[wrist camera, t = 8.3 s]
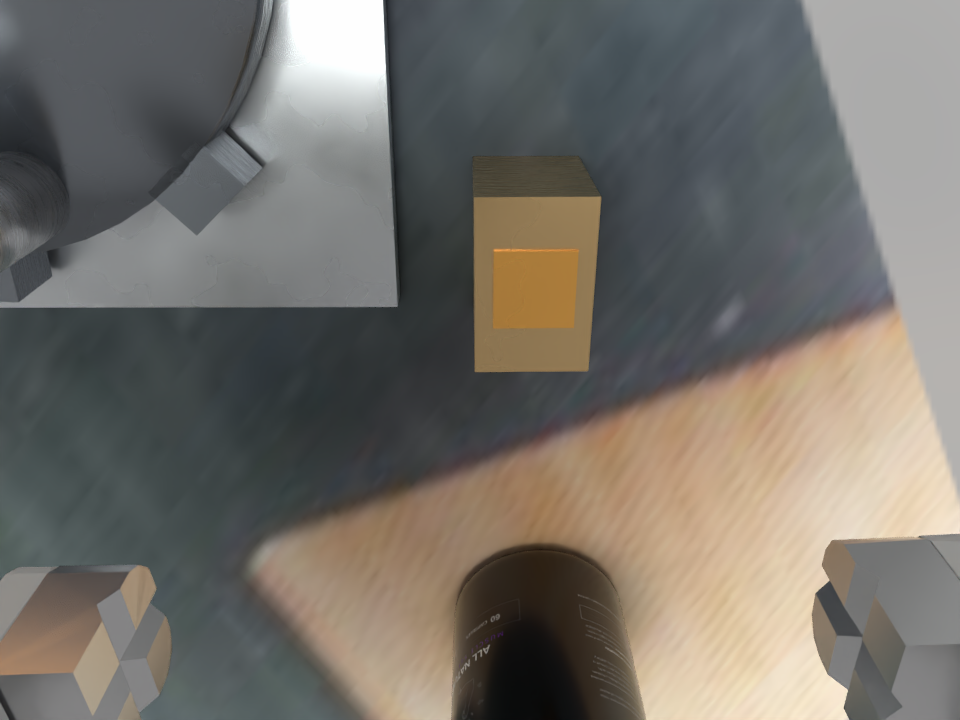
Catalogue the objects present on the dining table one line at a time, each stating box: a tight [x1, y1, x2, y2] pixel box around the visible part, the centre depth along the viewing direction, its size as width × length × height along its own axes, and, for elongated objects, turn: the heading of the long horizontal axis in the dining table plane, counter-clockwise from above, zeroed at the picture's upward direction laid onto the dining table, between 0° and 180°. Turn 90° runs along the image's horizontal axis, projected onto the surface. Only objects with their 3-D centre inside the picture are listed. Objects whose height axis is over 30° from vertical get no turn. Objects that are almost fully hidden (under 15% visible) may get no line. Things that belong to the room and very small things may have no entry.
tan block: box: [473, 156, 601, 372], centre depth 22 cm, size 5×3×5 cm, turn 0°
